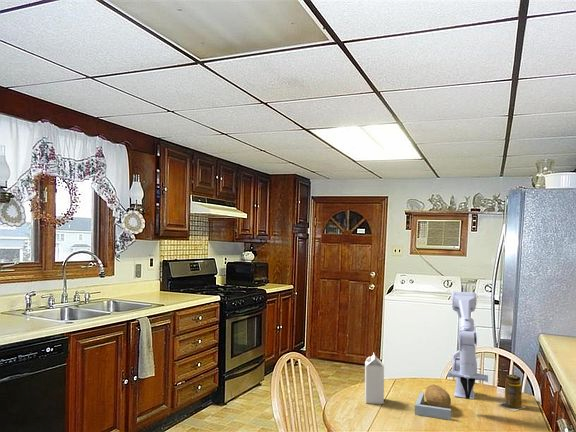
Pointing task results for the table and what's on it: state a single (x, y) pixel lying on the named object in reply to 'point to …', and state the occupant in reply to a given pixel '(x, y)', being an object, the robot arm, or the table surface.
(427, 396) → the potato
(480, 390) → the table surface
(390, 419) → the table surface
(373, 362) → the milk carton
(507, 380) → the condiment
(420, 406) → the corner walls
